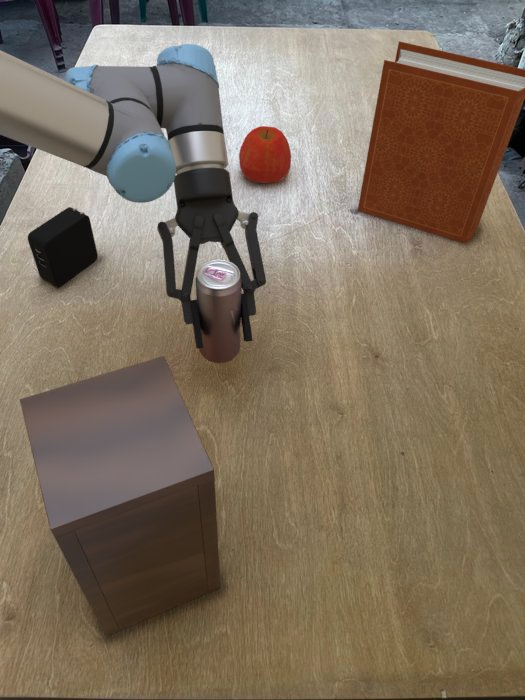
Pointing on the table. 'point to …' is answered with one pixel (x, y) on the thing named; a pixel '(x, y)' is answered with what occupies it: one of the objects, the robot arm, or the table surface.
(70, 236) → the electronic device
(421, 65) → the book
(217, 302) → the beverage can
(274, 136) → the apple
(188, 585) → the stand
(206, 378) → the table surface
